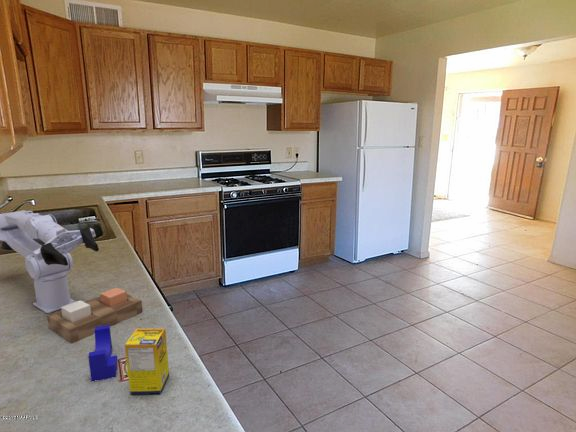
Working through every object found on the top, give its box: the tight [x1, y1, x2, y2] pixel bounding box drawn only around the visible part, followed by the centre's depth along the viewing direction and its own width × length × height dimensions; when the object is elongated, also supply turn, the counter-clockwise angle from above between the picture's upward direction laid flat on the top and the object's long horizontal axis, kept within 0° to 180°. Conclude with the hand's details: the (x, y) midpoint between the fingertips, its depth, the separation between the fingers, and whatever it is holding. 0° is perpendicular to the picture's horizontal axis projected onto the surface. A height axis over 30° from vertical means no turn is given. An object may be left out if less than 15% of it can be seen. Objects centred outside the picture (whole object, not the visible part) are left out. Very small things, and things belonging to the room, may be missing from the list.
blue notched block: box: [87, 325, 119, 382], centre depth 81 cm, size 12×4×6 cm, turn 21°
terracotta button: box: [99, 287, 128, 307], centre depth 102 cm, size 5×5×4 cm
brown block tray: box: [46, 293, 143, 344], centre depth 99 cm, size 12×19×4 cm, turn 145°
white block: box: [60, 299, 91, 323], centre depth 94 cm, size 5×5×4 cm
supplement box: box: [124, 327, 170, 395], centre depth 73 cm, size 6×6×11 cm
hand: (81, 254), depth 91 cm, fingers open, 7 cm apart
